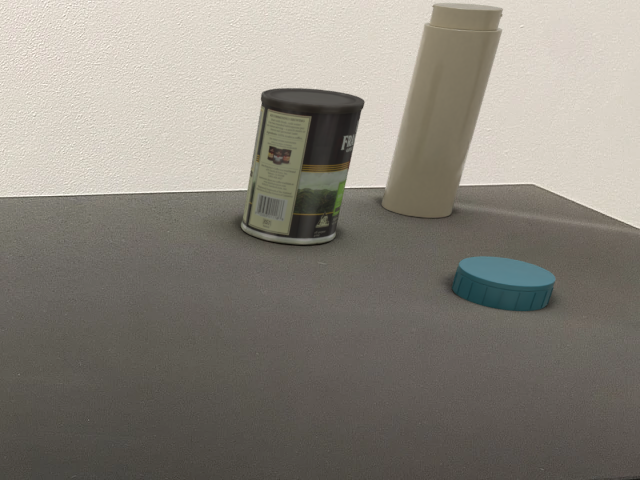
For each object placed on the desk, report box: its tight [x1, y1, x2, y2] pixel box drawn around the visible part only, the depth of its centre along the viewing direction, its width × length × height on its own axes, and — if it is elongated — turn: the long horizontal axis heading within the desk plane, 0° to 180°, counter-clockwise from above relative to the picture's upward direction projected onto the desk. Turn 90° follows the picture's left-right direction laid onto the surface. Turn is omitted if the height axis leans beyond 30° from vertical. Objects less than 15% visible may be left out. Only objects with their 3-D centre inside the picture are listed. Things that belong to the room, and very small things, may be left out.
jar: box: [381, 2, 504, 219], centre depth 110 cm, size 8×8×22 cm
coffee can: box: [240, 87, 366, 246], centre depth 103 cm, size 10×10×14 cm
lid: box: [451, 255, 556, 312], centre depth 90 cm, size 8×8×2 cm
